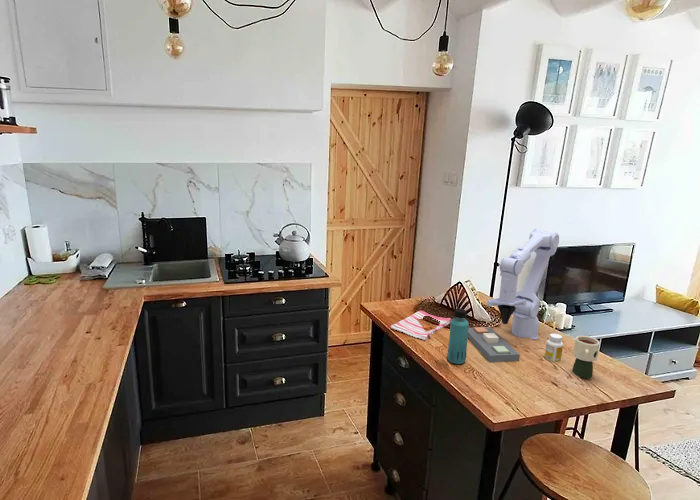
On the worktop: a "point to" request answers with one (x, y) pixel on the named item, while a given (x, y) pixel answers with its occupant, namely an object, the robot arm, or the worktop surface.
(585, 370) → the character mug
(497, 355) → the button console
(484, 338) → the cream button
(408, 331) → the dish towel
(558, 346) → the supplement bottle
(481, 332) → the terracotta button
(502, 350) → the sage button
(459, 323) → the beverage bottle
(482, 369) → the worktop surface
